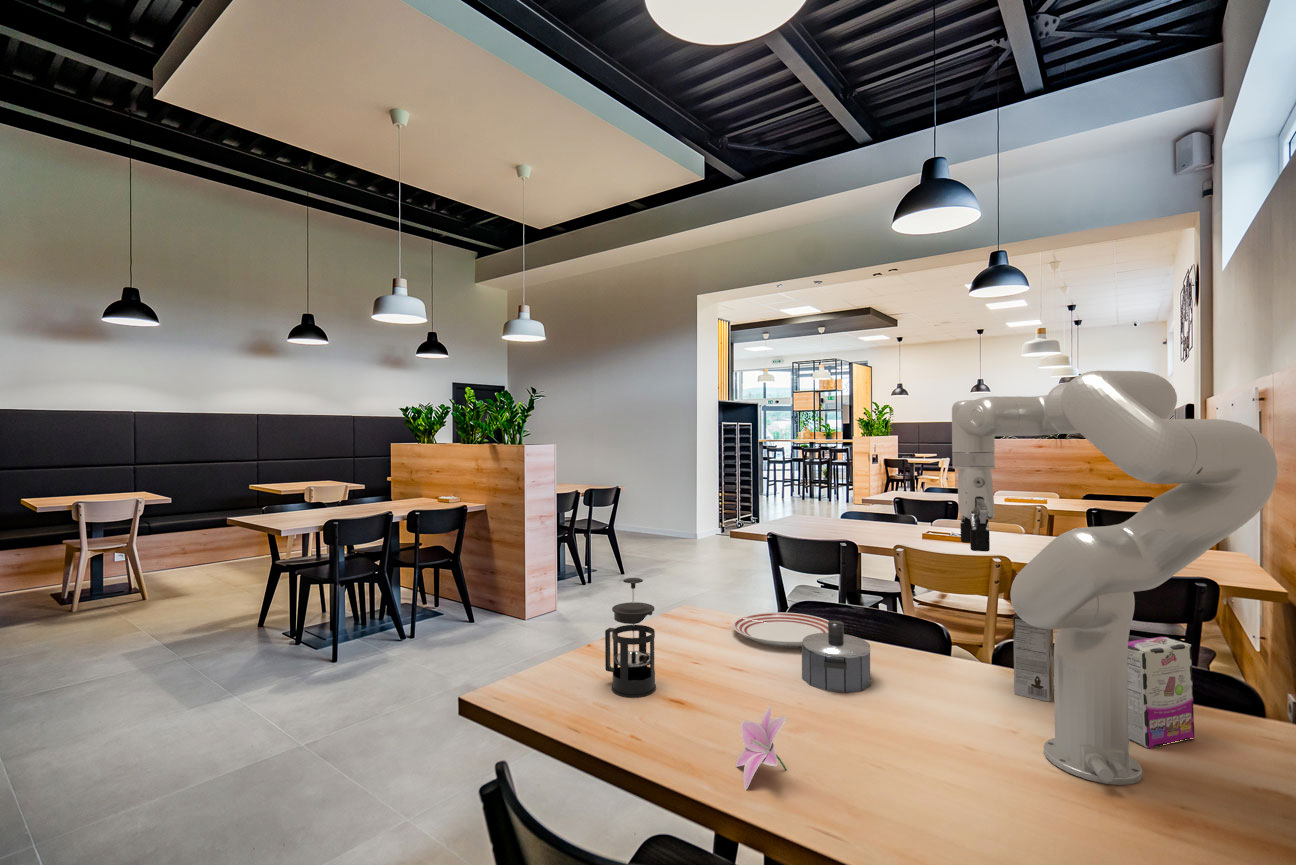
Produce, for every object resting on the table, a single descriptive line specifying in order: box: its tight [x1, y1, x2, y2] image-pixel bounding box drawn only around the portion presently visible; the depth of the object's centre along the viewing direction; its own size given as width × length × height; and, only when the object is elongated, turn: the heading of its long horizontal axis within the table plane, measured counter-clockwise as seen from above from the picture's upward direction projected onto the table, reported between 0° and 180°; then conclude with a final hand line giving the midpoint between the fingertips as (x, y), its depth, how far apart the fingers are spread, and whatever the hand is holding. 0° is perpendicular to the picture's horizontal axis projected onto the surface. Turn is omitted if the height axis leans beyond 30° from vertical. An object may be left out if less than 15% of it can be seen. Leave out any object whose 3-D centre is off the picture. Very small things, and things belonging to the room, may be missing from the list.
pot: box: [801, 642, 871, 694], centre depth 131 cm, size 17×14×7 cm
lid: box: [803, 620, 871, 659], centre depth 130 cm, size 14×14×6 cm
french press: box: [604, 577, 657, 699], centre depth 127 cm, size 12×9×23 cm
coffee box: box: [1012, 611, 1054, 703], centre depth 124 cm, size 9×6×16 cm
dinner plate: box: [732, 611, 830, 649], centre depth 159 cm, size 27×27×3 cm
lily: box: [735, 704, 788, 790], centre depth 94 cm, size 12×12×10 cm
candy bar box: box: [1127, 636, 1196, 749], centre depth 104 cm, size 11×5×16 cm, turn 105°
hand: (974, 546), depth 121 cm, fingers open, 9 cm apart
